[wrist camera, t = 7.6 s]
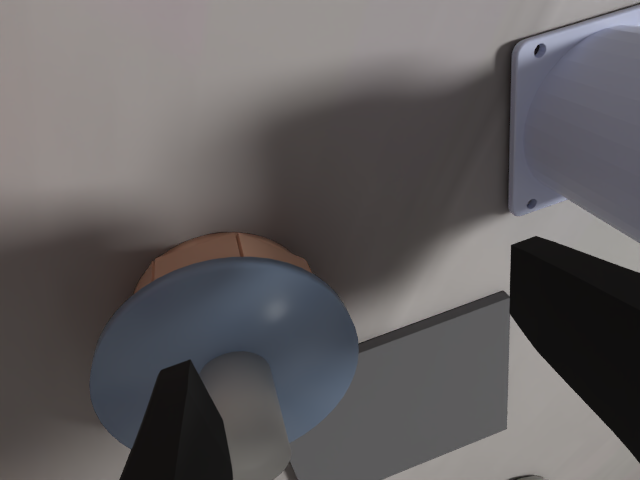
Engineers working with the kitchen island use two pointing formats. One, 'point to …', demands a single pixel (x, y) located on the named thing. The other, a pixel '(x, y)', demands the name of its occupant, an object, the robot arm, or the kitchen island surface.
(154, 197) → the kitchen island surface
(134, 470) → the robot arm
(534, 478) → the supplement can
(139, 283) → the bowl
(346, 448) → the mat
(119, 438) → the lid
